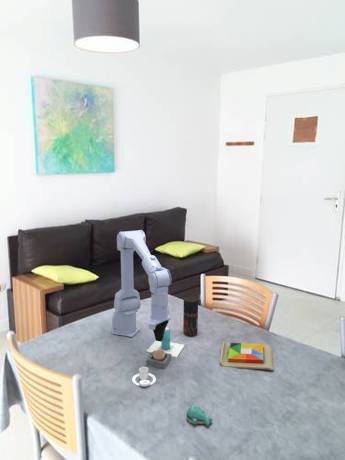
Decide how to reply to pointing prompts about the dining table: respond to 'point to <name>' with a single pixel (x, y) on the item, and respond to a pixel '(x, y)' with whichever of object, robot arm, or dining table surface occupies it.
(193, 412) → the whale figurine
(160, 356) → the button
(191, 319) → the deodorant
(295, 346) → the dining table surface
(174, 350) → the pad
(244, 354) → the wooden puzzle
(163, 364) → the housing
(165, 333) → the marker
